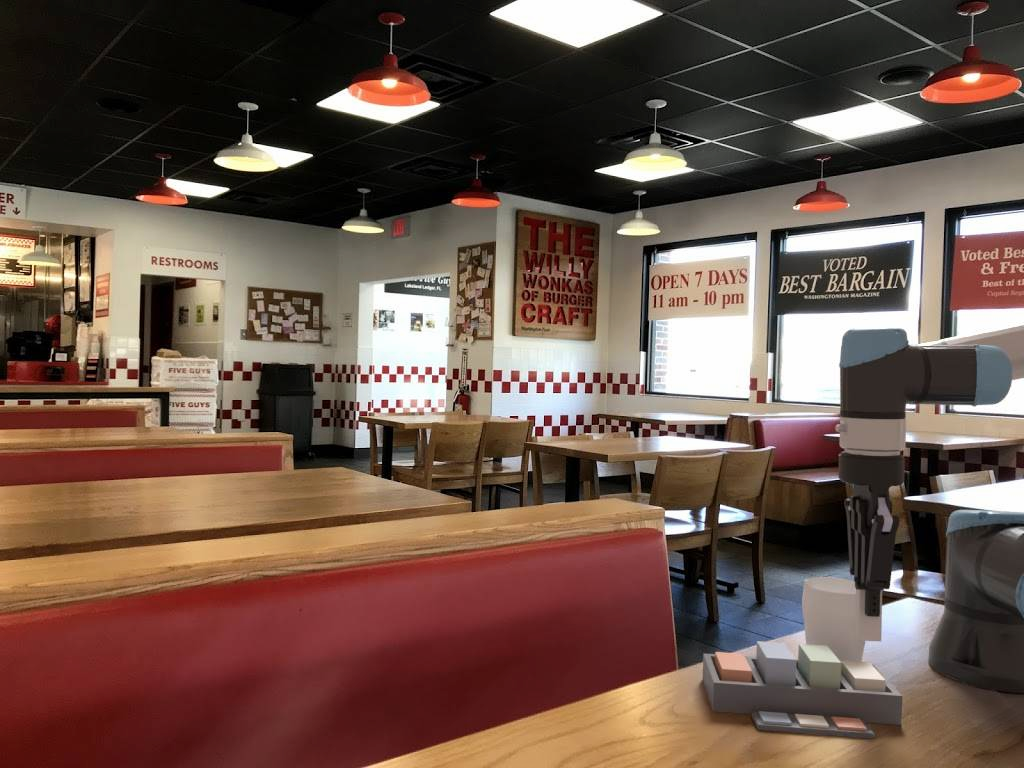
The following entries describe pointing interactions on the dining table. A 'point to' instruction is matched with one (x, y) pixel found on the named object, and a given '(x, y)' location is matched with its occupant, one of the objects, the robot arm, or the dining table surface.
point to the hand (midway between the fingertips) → (868, 638)
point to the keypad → (800, 697)
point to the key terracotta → (732, 667)
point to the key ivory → (862, 676)
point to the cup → (832, 616)
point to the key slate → (776, 663)
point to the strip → (812, 724)
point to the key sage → (819, 666)
